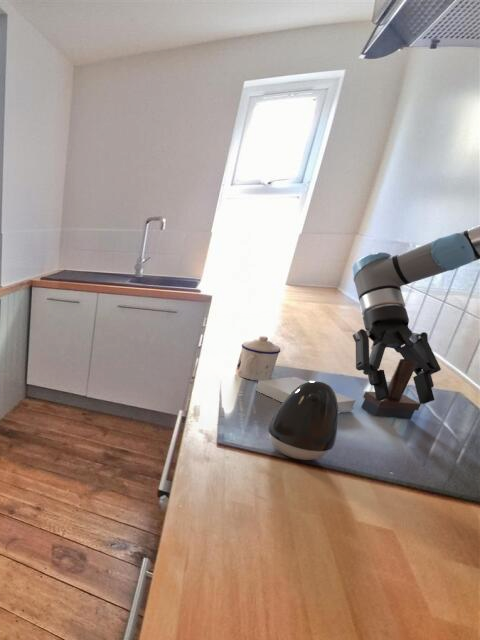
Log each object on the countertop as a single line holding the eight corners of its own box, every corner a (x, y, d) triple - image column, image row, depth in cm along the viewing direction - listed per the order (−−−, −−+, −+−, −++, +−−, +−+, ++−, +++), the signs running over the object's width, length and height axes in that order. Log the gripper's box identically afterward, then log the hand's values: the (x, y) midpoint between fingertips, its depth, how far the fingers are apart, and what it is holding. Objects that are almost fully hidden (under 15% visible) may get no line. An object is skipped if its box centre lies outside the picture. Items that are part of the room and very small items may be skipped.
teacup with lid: (241, 367, 124) (251, 330, 120) (276, 376, 118) (288, 337, 113) (224, 377, 117) (235, 338, 113) (261, 387, 111) (273, 346, 106)
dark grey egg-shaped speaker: (257, 453, 81) (280, 382, 75) (269, 434, 88) (290, 367, 82) (322, 474, 74) (353, 399, 68) (330, 452, 81) (358, 381, 75)
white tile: (351, 411, 98) (355, 400, 96) (310, 416, 95) (314, 405, 94) (292, 387, 111) (295, 376, 110) (255, 391, 109) (258, 380, 107)
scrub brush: (395, 409, 99) (419, 358, 93) (413, 420, 94) (439, 366, 88) (358, 406, 100) (380, 355, 95) (374, 417, 95) (397, 364, 90)
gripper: (420, 322, 101) (444, 409, 93) (325, 318, 105) (340, 401, 97) (448, 305, 95) (477, 398, 86) (345, 301, 98) (364, 390, 90)
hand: (405, 400), depth 92 cm, fingers closed on scrub brush, 8 cm apart
